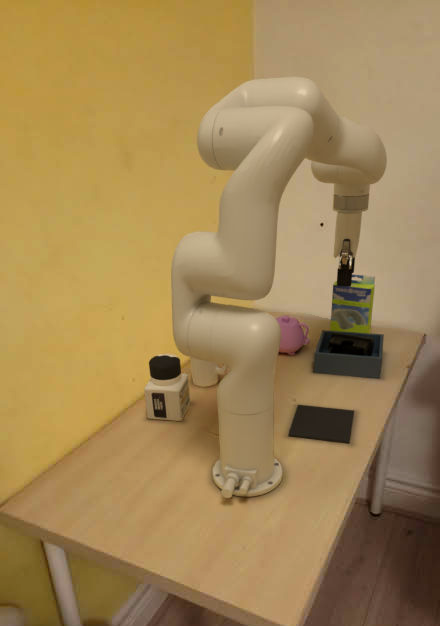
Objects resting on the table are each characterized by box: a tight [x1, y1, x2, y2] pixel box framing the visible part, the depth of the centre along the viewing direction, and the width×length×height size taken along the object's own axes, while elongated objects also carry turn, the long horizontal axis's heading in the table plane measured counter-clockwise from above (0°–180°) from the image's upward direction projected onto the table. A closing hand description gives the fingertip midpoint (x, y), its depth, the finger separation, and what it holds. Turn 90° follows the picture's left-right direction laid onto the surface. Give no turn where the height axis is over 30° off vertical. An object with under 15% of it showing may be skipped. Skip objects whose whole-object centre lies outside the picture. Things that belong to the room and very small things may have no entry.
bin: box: [313, 329, 385, 380], centre depth 134 cm, size 15×16×5 cm
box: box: [329, 273, 376, 333], centre depth 145 cm, size 10×4×17 cm, turn 64°
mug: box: [189, 357, 228, 388], centre depth 127 cm, size 10×7×12 cm, turn 61°
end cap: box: [327, 332, 374, 356], centre depth 134 cm, size 10×7×7 cm
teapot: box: [275, 314, 311, 356], centre depth 142 cm, size 10×15×9 cm
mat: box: [287, 404, 355, 445], centre depth 111 cm, size 12×12×1 cm
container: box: [143, 353, 191, 422], centre depth 115 cm, size 8×8×13 cm
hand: (345, 279), depth 125 cm, fingers open, 9 cm apart
